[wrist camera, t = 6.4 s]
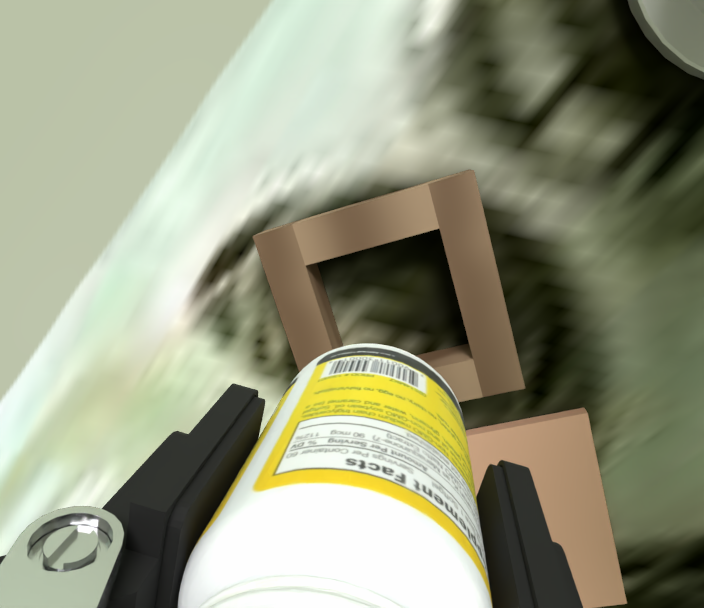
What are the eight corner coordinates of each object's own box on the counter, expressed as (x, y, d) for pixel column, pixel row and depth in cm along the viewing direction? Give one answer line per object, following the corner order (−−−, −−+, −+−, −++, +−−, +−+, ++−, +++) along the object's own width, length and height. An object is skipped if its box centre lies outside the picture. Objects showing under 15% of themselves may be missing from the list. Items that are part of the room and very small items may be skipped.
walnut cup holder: (469, 169, 24) (474, 170, 22) (517, 370, 26) (525, 388, 24) (266, 230, 26) (252, 236, 24) (327, 410, 28) (319, 430, 26)
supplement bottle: (352, 529, 14) (255, 1010, 6) (247, 399, 14) (-14, 753, 6) (503, 450, 13) (624, 933, 5) (395, 301, 12) (332, 583, 4)
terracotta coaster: (584, 407, 26) (587, 413, 26) (623, 595, 29) (627, 603, 28) (361, 450, 29) (360, 456, 28) (416, 619, 31) (416, 628, 31)
